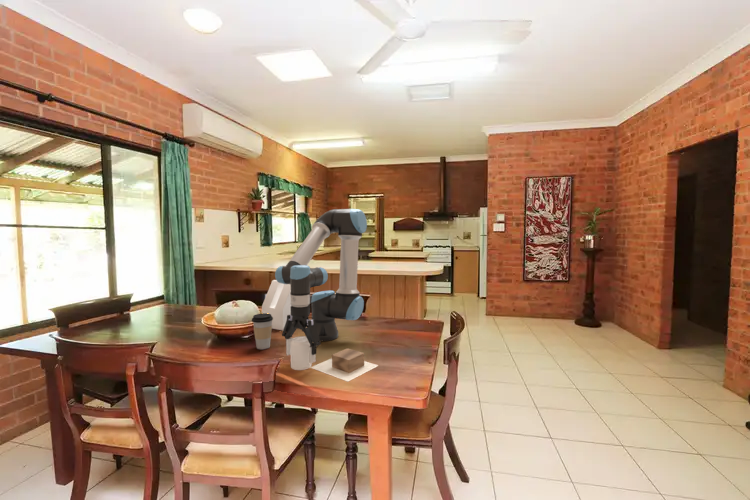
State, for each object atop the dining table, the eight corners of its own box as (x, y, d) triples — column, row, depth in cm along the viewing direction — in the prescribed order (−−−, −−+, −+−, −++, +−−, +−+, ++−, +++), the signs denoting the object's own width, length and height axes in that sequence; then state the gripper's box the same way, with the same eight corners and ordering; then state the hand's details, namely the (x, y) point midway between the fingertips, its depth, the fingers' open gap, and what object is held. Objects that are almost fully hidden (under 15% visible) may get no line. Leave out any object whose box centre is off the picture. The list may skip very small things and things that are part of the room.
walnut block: (331, 367, 136) (331, 354, 136) (347, 360, 144) (347, 348, 143) (349, 373, 131) (349, 360, 131) (364, 365, 138) (364, 353, 138)
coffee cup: (277, 345, 165) (277, 313, 164) (265, 351, 156) (264, 319, 155) (260, 342, 168) (260, 312, 167) (247, 349, 159) (246, 317, 158)
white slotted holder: (285, 318, 212) (285, 277, 210) (305, 321, 205) (305, 279, 203) (262, 326, 195) (261, 282, 193) (283, 330, 188) (282, 284, 186)
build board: (310, 370, 136) (310, 367, 136) (341, 356, 150) (341, 354, 150) (348, 384, 124) (348, 381, 124) (378, 368, 138) (378, 365, 138)
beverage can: (292, 365, 142) (292, 336, 141) (312, 364, 142) (312, 335, 141) (289, 373, 134) (288, 342, 133) (310, 372, 134) (310, 342, 133)
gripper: (272, 302, 141) (273, 353, 142) (315, 311, 125) (315, 369, 127) (287, 299, 147) (288, 348, 148) (329, 307, 131) (330, 363, 133)
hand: (300, 358), depth 137 cm, fingers open, 13 cm apart
